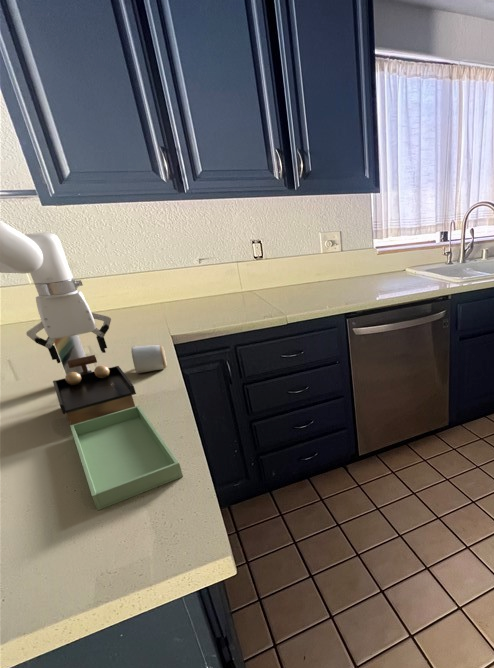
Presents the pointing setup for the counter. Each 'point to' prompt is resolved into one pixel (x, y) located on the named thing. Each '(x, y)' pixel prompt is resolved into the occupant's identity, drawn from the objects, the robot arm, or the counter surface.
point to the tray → (123, 456)
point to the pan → (92, 387)
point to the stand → (100, 410)
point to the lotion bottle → (70, 352)
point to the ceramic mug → (149, 358)
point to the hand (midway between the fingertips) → (81, 356)
